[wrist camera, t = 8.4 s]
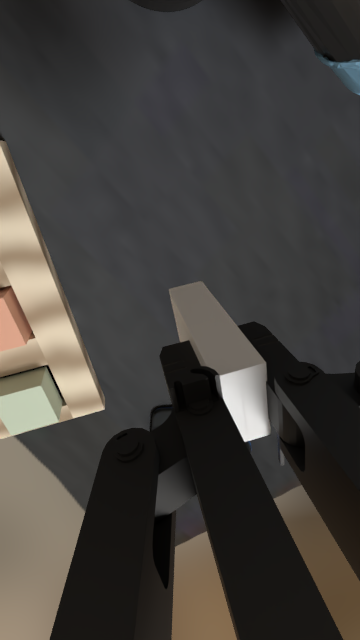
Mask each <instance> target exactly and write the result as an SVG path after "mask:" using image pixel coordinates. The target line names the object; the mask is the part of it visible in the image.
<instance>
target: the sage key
mask: <svg viewBox="0 0 360 640" xmlns="http://www.w3.org/2000/svg"><path fill="white" fill-rule="evenodd" d="M62 402H63V401H62V399H61V397H60V394H59V392H58V390H57V388H56V386H55V384H54V382H53V380H52V378H51V375H50V373H49V371H48V369H47V367H42V368H39V369H35V370H31V371H27V372H24V373H20V374H16V375H12V376H9V377H5V378H1V379H0V418H1V420H2V422H3V423H4V425H5V426H6V428H7V430H8V431H9V433H10V435H15V434H18V433H22V432H25V431H29V430H32V429H36V428H39V427H43V426H46V425H50V424H53V423H57V422H59V419H60V413H61V408H62Z"/></svg>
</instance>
